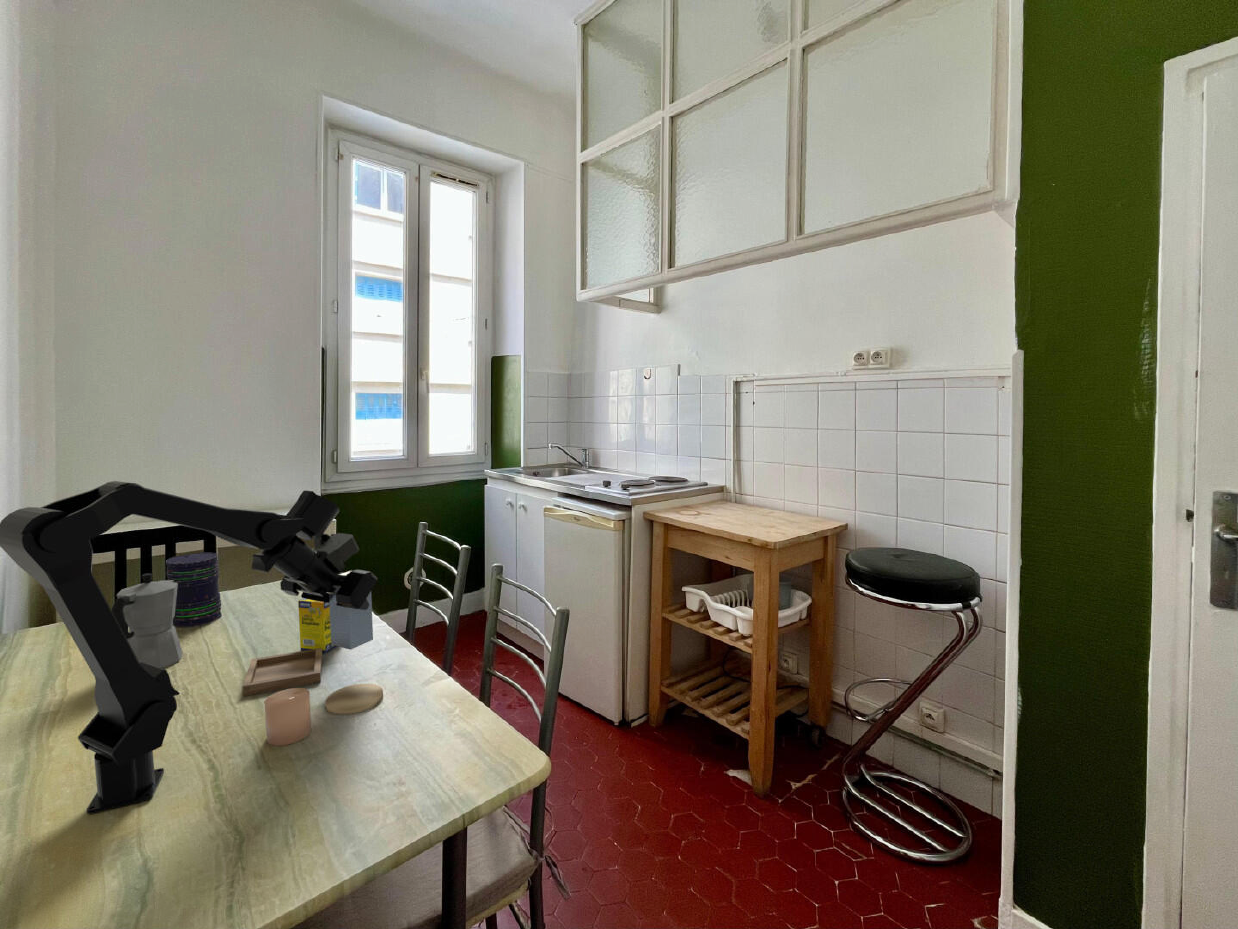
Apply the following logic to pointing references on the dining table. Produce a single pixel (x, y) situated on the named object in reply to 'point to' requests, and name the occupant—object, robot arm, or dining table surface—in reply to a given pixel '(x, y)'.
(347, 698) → the cork coaster
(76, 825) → the dining table surface
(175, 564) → the storage jar
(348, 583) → the robot arm
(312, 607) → the supplement box
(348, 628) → the tea tin
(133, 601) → the coffeepot
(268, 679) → the walnut tray
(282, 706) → the pink rounded cylinder
